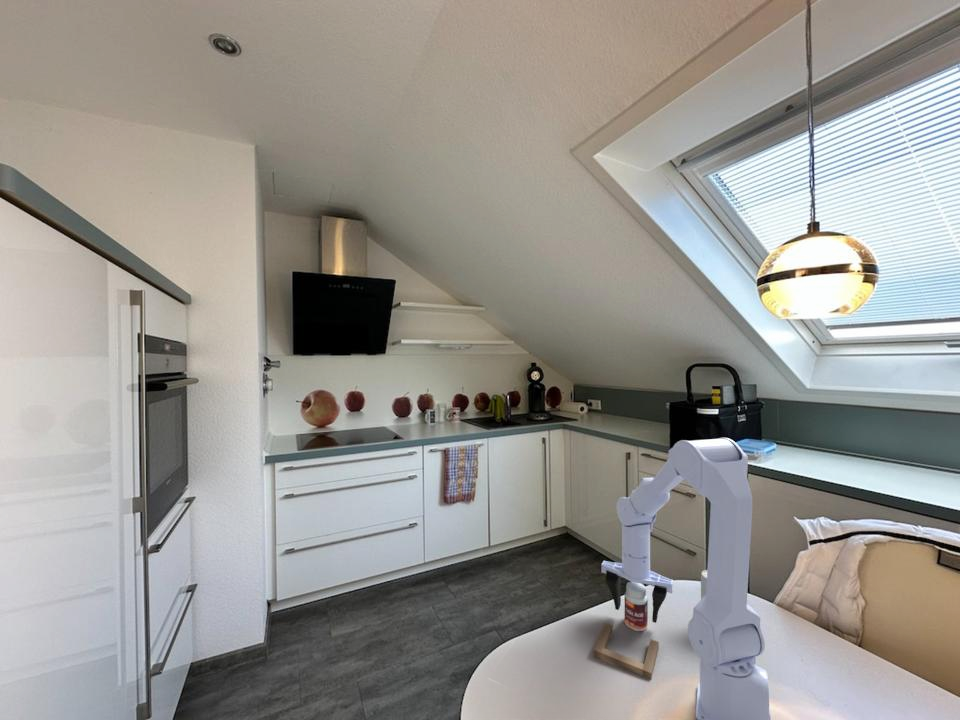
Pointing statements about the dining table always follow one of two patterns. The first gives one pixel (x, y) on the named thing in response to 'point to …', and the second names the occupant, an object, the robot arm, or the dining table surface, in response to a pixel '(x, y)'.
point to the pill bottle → (636, 606)
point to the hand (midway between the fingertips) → (636, 613)
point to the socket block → (621, 660)
